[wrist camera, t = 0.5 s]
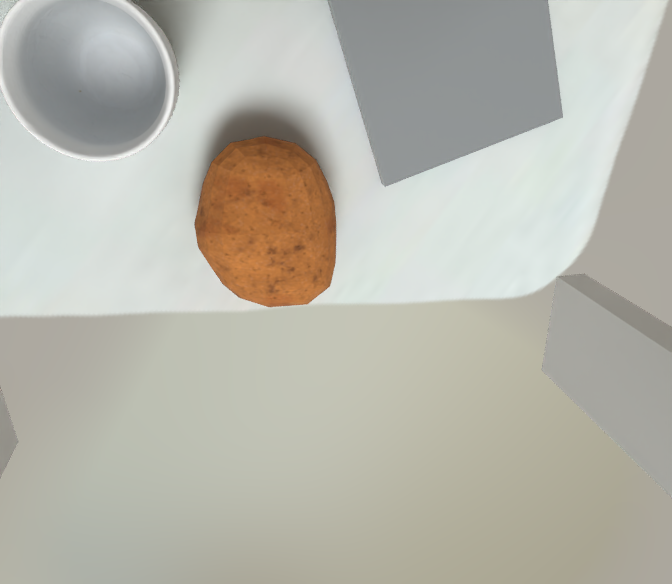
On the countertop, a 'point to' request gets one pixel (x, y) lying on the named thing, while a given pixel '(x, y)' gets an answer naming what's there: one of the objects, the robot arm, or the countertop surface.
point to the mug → (88, 75)
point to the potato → (268, 222)
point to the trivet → (446, 76)
